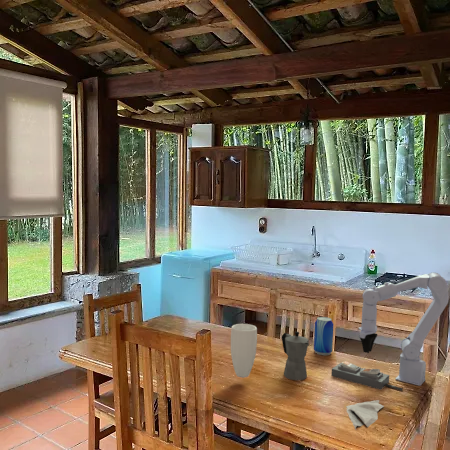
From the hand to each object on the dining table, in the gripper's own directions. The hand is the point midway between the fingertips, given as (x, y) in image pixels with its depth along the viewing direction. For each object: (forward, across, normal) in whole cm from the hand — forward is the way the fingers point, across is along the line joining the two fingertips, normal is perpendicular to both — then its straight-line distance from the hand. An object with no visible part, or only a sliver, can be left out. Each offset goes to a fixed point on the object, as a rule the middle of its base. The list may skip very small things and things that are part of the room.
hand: (367, 351), depth 189 cm
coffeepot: (+10, +21, -22) cm, 32 cm away
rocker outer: (+6, +7, -4) cm, 10 cm away
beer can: (+10, -12, -25) cm, 29 cm away
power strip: (+9, +7, +3) cm, 12 cm away
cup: (+10, +41, -33) cm, 53 cm away
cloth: (+10, +34, +12) cm, 38 cm away
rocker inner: (+6, +7, +4) cm, 10 cm away
